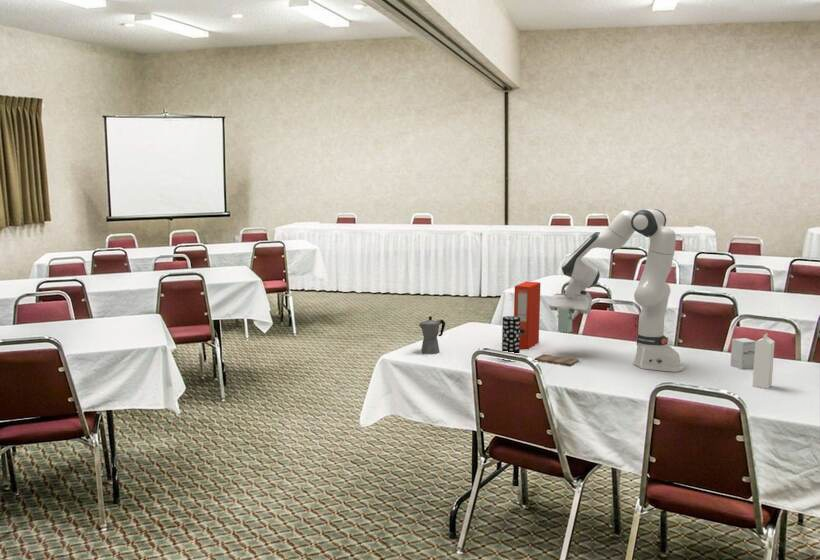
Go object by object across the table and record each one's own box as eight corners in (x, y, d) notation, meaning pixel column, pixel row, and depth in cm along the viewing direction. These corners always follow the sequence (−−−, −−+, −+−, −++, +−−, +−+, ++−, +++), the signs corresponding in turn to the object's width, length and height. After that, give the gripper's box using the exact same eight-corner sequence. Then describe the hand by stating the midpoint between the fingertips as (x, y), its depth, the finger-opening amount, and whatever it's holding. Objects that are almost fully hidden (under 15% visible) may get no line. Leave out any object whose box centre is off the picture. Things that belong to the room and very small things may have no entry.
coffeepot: (424, 355, 358) (424, 319, 355) (414, 351, 366) (413, 316, 363) (450, 351, 366) (450, 316, 363) (439, 347, 374) (439, 313, 371)
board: (578, 361, 345) (578, 359, 345) (570, 366, 337) (570, 363, 337) (543, 356, 355) (543, 354, 355) (534, 360, 347) (534, 358, 347)
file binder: (539, 342, 384) (540, 282, 379) (528, 350, 368) (529, 287, 364) (524, 341, 387) (525, 281, 383) (513, 348, 372) (514, 285, 368)
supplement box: (741, 369, 330) (742, 342, 328) (729, 365, 337) (731, 338, 336) (754, 368, 332) (756, 341, 330) (743, 364, 339) (745, 337, 337)
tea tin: (572, 330, 352) (572, 306, 350) (567, 332, 348) (568, 307, 346) (562, 329, 355) (562, 305, 353) (557, 331, 351) (558, 306, 349)
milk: (771, 385, 305) (775, 333, 302) (767, 389, 300) (771, 336, 297) (756, 383, 309) (759, 331, 306) (751, 386, 304) (755, 334, 301)
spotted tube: (519, 356, 355) (519, 316, 352) (519, 361, 346) (520, 319, 344) (501, 356, 356) (502, 316, 353) (502, 360, 347) (502, 319, 344)
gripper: (552, 289, 361) (543, 311, 354) (592, 292, 349) (583, 316, 343) (555, 296, 365) (547, 319, 359) (595, 300, 353) (587, 324, 347)
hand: (565, 318), depth 351 cm, fingers closed on tea tin, 5 cm apart
